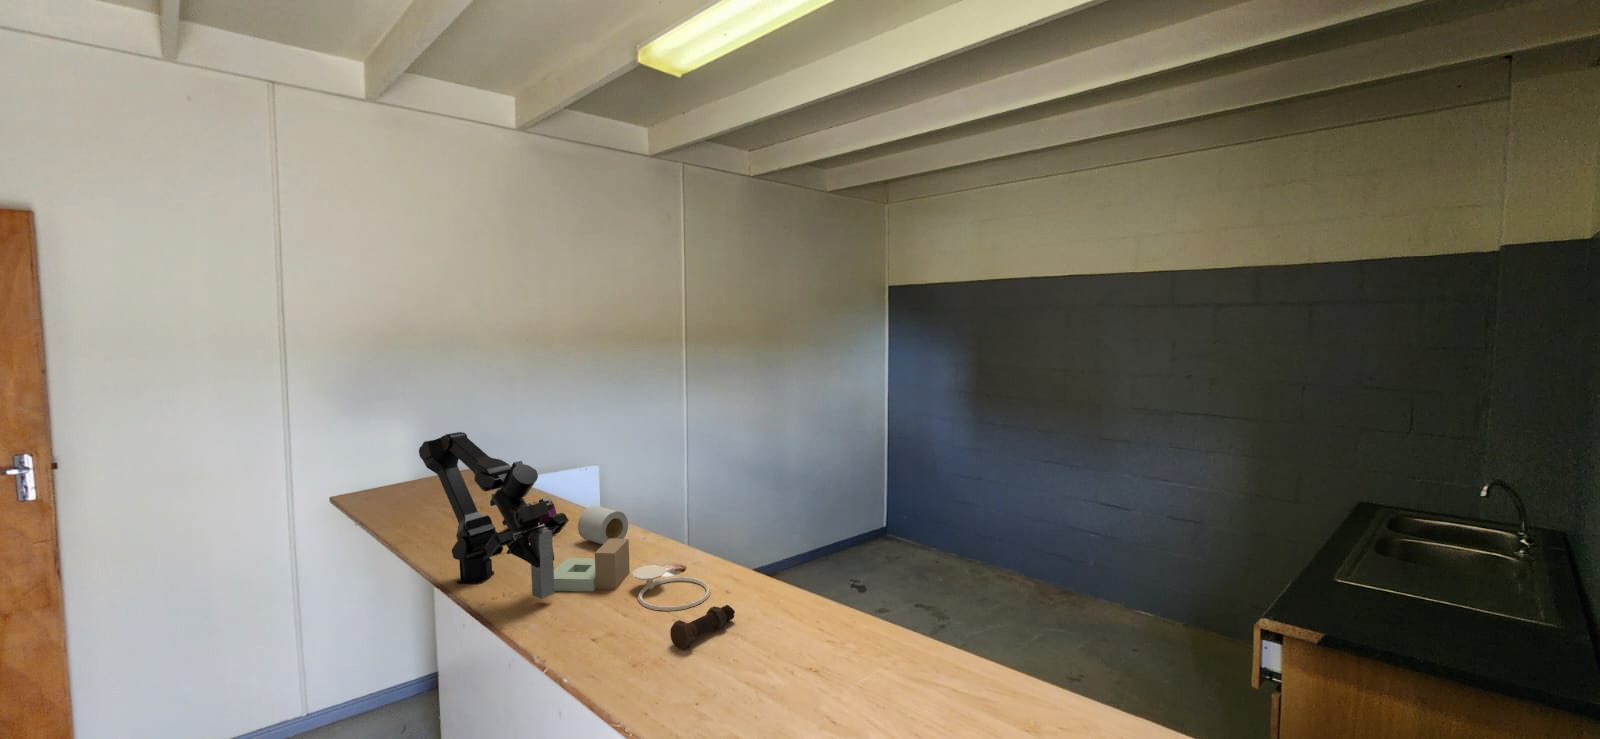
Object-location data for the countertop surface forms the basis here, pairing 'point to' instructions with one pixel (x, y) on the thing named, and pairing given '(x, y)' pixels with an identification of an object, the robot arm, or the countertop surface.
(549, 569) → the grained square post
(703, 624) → the bolt
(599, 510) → the toilet paper
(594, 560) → the square holed base
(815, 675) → the countertop surface
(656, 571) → the hand towel holder
